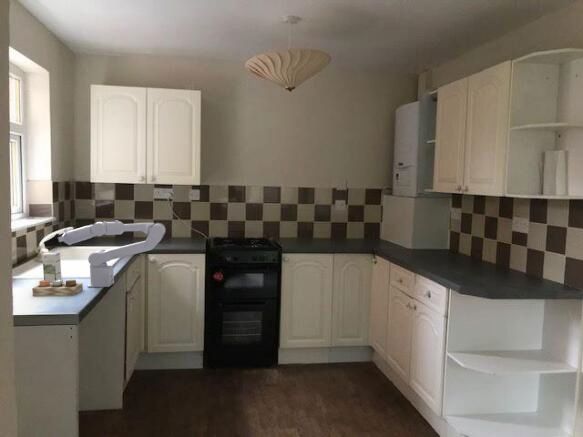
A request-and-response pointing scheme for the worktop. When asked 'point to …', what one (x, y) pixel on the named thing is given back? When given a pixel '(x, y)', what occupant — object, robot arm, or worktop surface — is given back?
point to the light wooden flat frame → (57, 290)
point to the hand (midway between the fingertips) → (47, 244)
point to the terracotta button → (44, 283)
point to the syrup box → (51, 266)
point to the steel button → (57, 283)
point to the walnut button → (70, 283)
